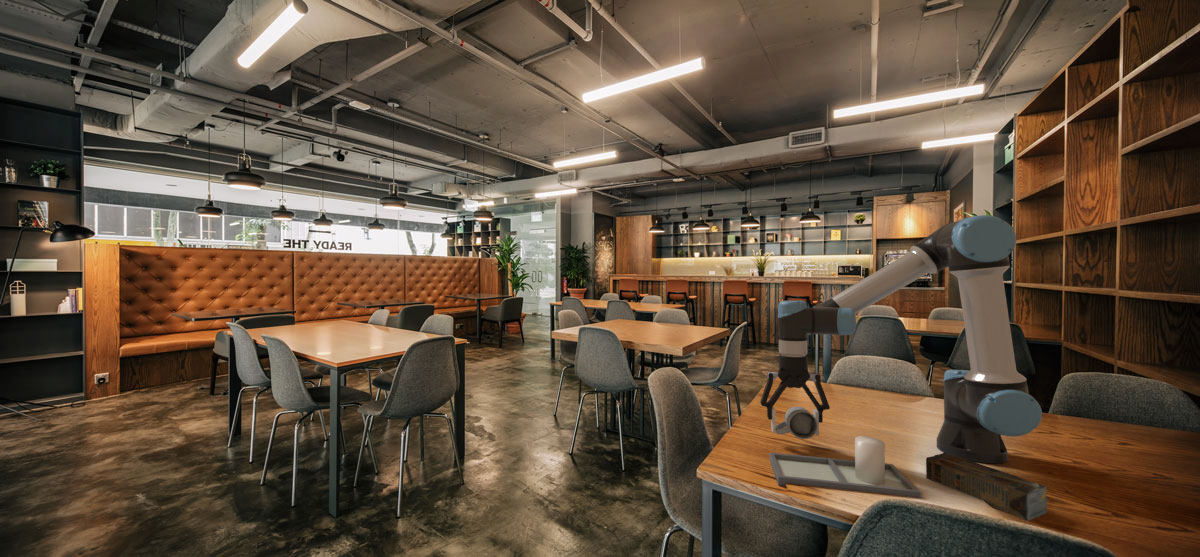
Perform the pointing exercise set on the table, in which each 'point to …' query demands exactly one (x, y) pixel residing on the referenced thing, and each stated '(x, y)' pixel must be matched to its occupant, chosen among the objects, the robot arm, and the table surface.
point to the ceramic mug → (798, 423)
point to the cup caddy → (836, 475)
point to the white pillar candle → (870, 460)
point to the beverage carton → (988, 485)
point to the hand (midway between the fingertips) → (794, 432)
